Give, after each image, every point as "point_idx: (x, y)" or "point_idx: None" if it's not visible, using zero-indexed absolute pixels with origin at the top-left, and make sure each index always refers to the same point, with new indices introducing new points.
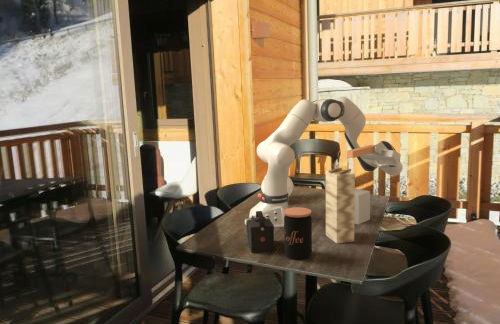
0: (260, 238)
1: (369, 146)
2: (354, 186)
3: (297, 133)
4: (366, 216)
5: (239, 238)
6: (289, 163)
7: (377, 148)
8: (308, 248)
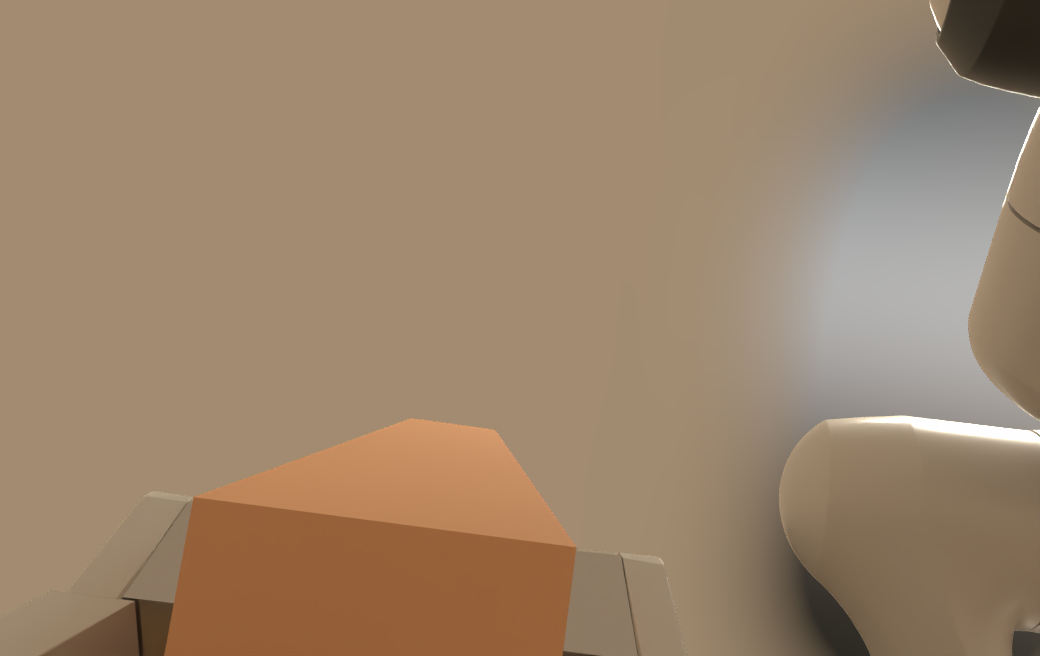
0: None
1: (387, 461)
2: None
3: (977, 336)
4: None
5: None
6: (790, 543)
7: (82, 579)
8: None
